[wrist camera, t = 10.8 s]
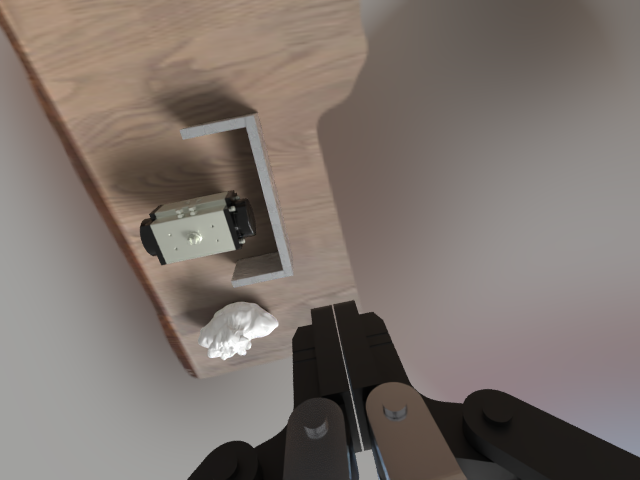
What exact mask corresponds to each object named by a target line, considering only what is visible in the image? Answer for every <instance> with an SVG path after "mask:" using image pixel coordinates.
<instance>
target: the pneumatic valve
mask: <svg viewBox="0 0 640 480" xmlns="http://www.w3.org/2000/svg"><path fill="white" fill-rule="evenodd" d="M149 215H150V218H148V219H144V220H143V221H142V223H141V226H140V236H141V240H142V244H143V246H144V248H145V249H146V251H147V252H148V253H149V254H150V255H152V256H157V257H158V259H159V261H160V263H161V265H165V264H170V263H175V262H180V261H184V260H189V259H194V258H199V257H204V256H208V255H213V254H218V253H223V252H228V251H232V250H237V249H241V248H242V245H243V243H245V239H244V238H245V237H250V236H255V235H256V222H255V217H254V213H253V209H252V206H251V204H250V202H249V200H248V199H247V198H245V199H240V197H239V196H238V195H237V193H235V192H234V190H233V191H228V192H223V193H217V194H212V195H207V196H202V197H198V198H194V199H189V200H184V201H179V202H174V203H170V204H165V205H160V206H158V207H157V208H156V209H155V210H153V211H152V212H151V213H150V214H149Z"/></svg>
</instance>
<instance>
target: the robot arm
mask: <svg viewBox="0 0 640 480" xmlns="http://www.w3.org/2000/svg"><path fill="white" fill-rule="evenodd" d="M333 305H334V311H335V316H336V321H337V326H338V331H339V336H340V341H341V346H342V350H343V355H344V360H345V364H346V369H347V374H348V378H349V383H350V387H351V391H352V396H353V401H354V405H355V410H356V414H357V419H358V423H359V428H360V433H361V437H362V442H363V446H364V450H370V449H372V451H373V456H374V460H375V464H376V468H377V474H378V479H379V480H640V457H638V456H636V455H633V454H631V453H629V452H627V451H625V450H623V449H621V448H619V447H617V446H615V445H613V444H611V443H609V442H607V441H605V440H602V439H600V438H598V437H596V436H594V435H592V434H590V433H588V432H586V431H584V430H582V429H580V428H578V427H576V426H573V425H571V424H569V423H567V422H565V421H563V420H561V419H559V418H556V417H555V416H552V415H551V414H549V413H546V412H544V411H542V410H540V409H538V408H536V407H534V406H532V405H530V404H528V403H526V402H524V401H522V400H519V399H518V398H515V397H513V396H511V395H509V394H507V393H504V392H501V391H498V390H492V389H483V390H478V391H475V392H473V393H472V394H470V395H468V397H467V398H466V399H465V401H464V403H463V404H462V403H451V402H441V401H436V400H432V399H430V398H427V397H425V396H423V395H422V394H420V393H419V392H418V391H417V390H416V389H414V387H413V386H412V385H411V383H410V382H409V379H408V377H407V375H406V372H405V370H404V368H403V365H402V363H401V361H400V358H399V356H398V354H397V351H396V349H395V348H394V344H393V343H392V340H391V337H390V335H389V334H388V330H387V329H386V326H385V323H384V321H383V320H382V319H381V318H380V317H378V316H377V315H376V314H375V313H374V312H369V313H365V314H360V315H359V313H358V310H357V307H356V304H355V301H354V300H352V301H348V302H343V303H338V304H333ZM311 316H312V325H307V326H303V327H298V329H297V331H296V333H295V335H294V337H293V339H292V349H293V388H294V409H293V412H292V413H291V415H290V417H289V420H288V424H287V425H286V426H285V428H284V429H283V430H282V431H281V432H280V433H278V434H277V435H276V436H274V437H273V438H271V439H269V440H268V441H266V442H264V443H262V444H261V445H258V446H257V447H255V448H253V447H252V446H251V445H249V444H248V443H246V442H243V441H231V442H227V443H225V444H223V445H220V446H219V447H217V448H216V449H214V450H213V451H212V452H211V453H210V454H209V455H208V456H207V457H206V458H205V459H204V460H203V462H202V463H201V464H200V465H199V466H198V467H197V469H196V470H195V471H194V472H193V473H192V474H191V476H190V477H189V478H188V479H187V480H359V472H358V466H357V461H356V456H355V453H356V452H361V451H362V449H361V444H360V439H359V434H358V429H357V424H356V419H355V414H354V409H353V404H352V398H351V393H350V389H349V384H348V379H347V375H346V370H345V365H344V361H343V357H342V351H341V347H340V342H339V337H338V333H337V328H336V323H335V319H334V314H333V310H332V305H329V306H324V307H319V308H314V309H311Z"/></svg>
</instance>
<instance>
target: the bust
mask: <svg viewBox="0 0 640 480" xmlns="http://www.w3.org/2000/svg"><path fill="white" fill-rule="evenodd" d="M277 326H278V321H277V319H276V318H275V317H274V316H273V315H272V314H270V313H268V312H267V311H265V310H264V309H262V308H261V307H260V306H259V305H257V304H255V303H247V302H236V303H231V304H229V305H226V306H225V307H224V308H223V309H221V310H219V311H217V312H216V313H215V314H214V317H213V318H212V320H211V321H210V322H209V323H208V324H207V325H206V326H205V327H203V328H202V329H201V332H200V336H199V338H198V343H199V344H200V345H201V346H203V347H206V348H208V357H210V358H214V357H221V358H222V359H223V360H225V359H226V358H228V357H232V356H233V355H234V354H235V353H238V354H239V355H245V354H246V350H247V349H250V348H251V342H250V340H251V339H252V338H256V337H264V336H266V335H268V334H269V333H271V332H272V331H273V330H274V329H275V328H276V327H277Z"/></svg>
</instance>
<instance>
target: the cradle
mask: <svg viewBox="0 0 640 480" xmlns="http://www.w3.org/2000/svg"><path fill="white" fill-rule="evenodd" d="M243 127H246V129H247V132H248V136H249V140H250V144H251V148H252V152H253V155H254V159H255V163H256V167H257V171H258V175H259V178H260V182H261V186H262V190H263V194H264V198H265V201H266V205H267V209H268V213H269V217H270V221H271V224H272V228H273V232H274V236H275V240H276V244H277V247H278V251H279V252H274V253H270V254H265V255H260V256H255V257H250V258H245V259H240V260H237V263H236V267H235V270H234V273H233V277H232V280H231V282H232V285H233V288H234V287H239V286H244V285H249V284H254V283H259V282H263V281H268V280H273V279H278V278H283V277H288V276H293V254H292V250H291V246H290V242H289V238H288V234H287V230H286V226H285V221H284V217H283V213H282V209H281V205H280V201H279V197H278V193H277V188H276V184H275V180H274V176H273V172H272V168H271V164H270V160H269V155H268V151H267V147H266V143H265V139H264V135H263V131H262V127H261V122H260V118H259V114H258V112H257V113H252V114H247V115H242V116H237V117H232V118H227V119H222V120H217V121H212V122H207V123H202V124H197V125H193V126H190V127H187V128H184V129H181V130H180V133H181V136H182V139H188V138H193V137H198V136H203V135H208V134H213V133H218V132H223V131H228V130H233V129H238V128H243Z"/></svg>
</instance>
